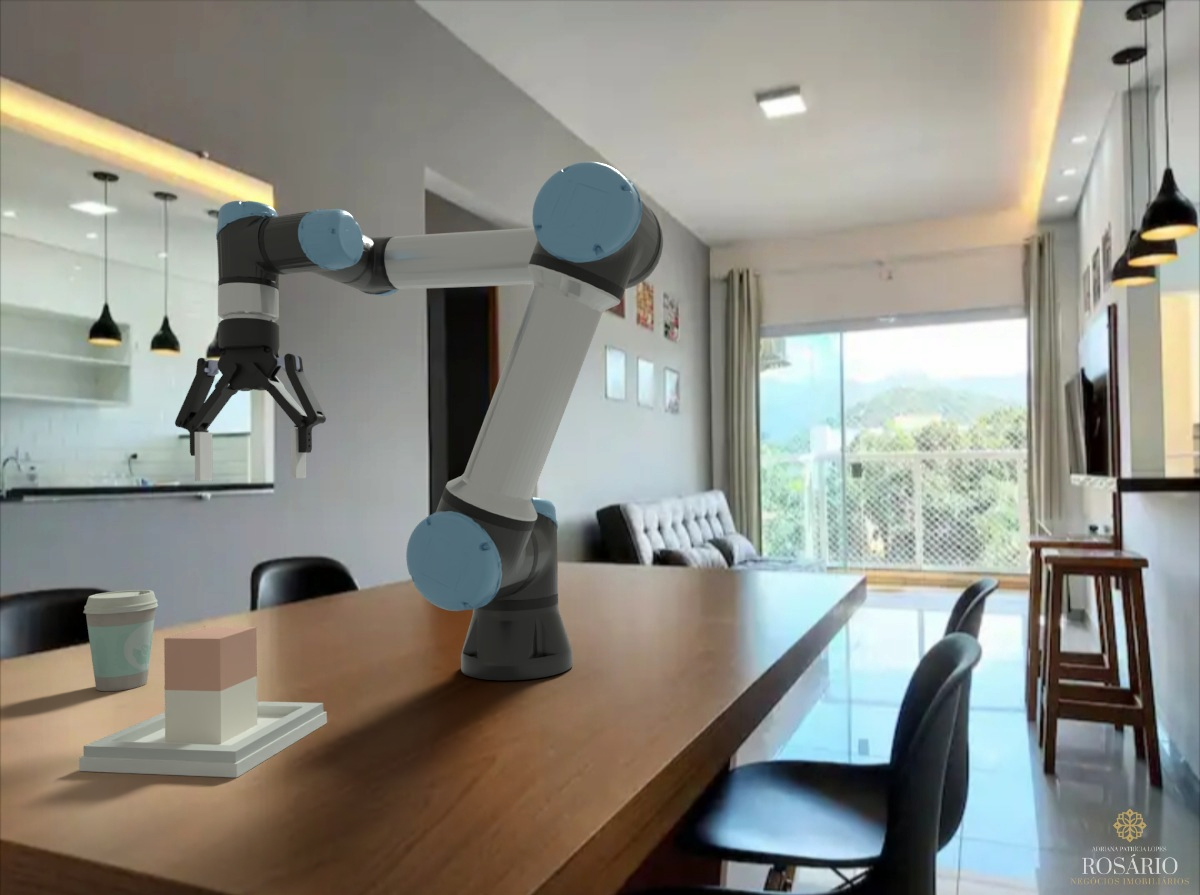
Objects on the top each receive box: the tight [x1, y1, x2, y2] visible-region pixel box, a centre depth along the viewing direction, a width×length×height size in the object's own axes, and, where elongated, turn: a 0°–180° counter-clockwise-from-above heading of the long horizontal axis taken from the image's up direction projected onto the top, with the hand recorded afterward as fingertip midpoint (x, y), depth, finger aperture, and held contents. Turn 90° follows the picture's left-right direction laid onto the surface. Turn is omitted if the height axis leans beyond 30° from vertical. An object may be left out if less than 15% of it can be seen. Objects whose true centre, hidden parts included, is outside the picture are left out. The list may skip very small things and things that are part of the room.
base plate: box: [78, 700, 328, 778], centre depth 82 cm, size 16×16×2 cm
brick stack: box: [163, 626, 258, 744], centre depth 82 cm, size 6×6×10 cm
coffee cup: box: [82, 589, 159, 692], centre depth 108 cm, size 8×8×12 cm
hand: (250, 479), depth 109 cm, fingers open, 13 cm apart
